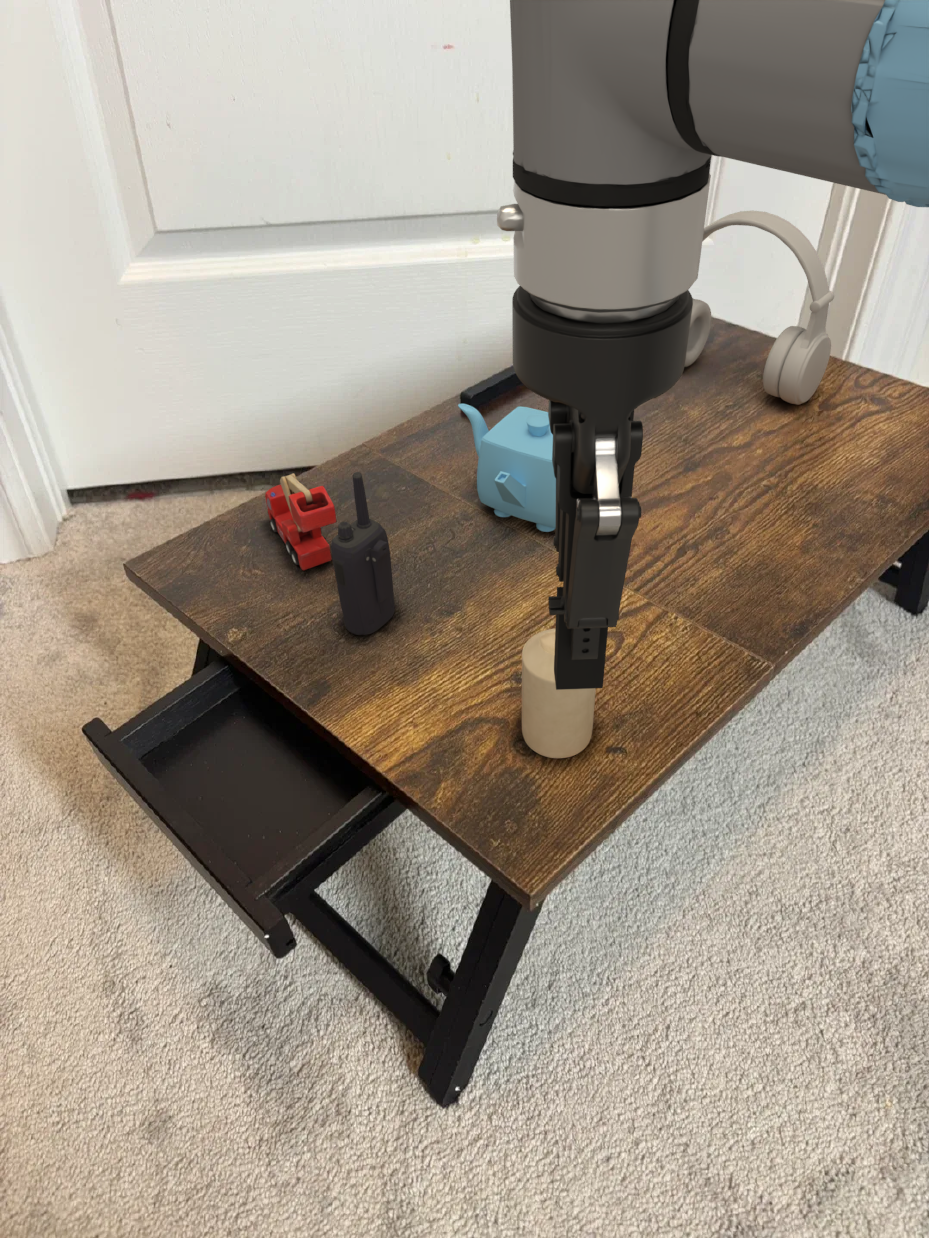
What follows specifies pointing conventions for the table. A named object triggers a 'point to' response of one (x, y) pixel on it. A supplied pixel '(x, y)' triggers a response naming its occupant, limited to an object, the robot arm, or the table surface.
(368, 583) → the two-way radio
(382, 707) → the table surface
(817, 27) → the robot arm
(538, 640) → the candle
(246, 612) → the table surface
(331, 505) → the toy fire truck
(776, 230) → the headphones
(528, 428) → the teapot
